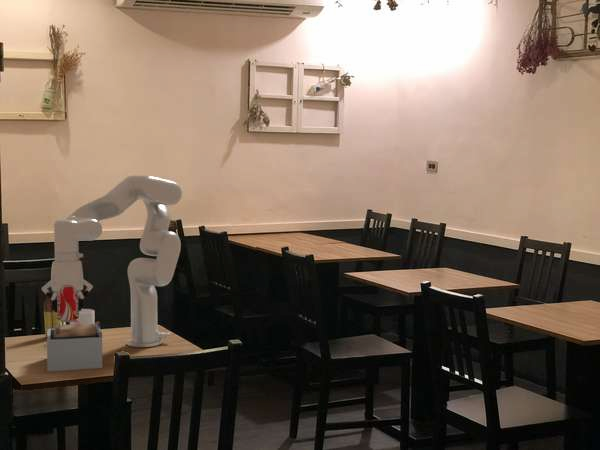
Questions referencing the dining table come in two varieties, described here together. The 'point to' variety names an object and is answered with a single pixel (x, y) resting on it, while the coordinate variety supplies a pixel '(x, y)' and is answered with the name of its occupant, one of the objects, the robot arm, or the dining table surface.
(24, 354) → the dining table surface
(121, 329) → the dining table surface
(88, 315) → the mug
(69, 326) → the flap
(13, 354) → the dining table surface
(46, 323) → the sauce bottle
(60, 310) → the soda can
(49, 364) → the bin
